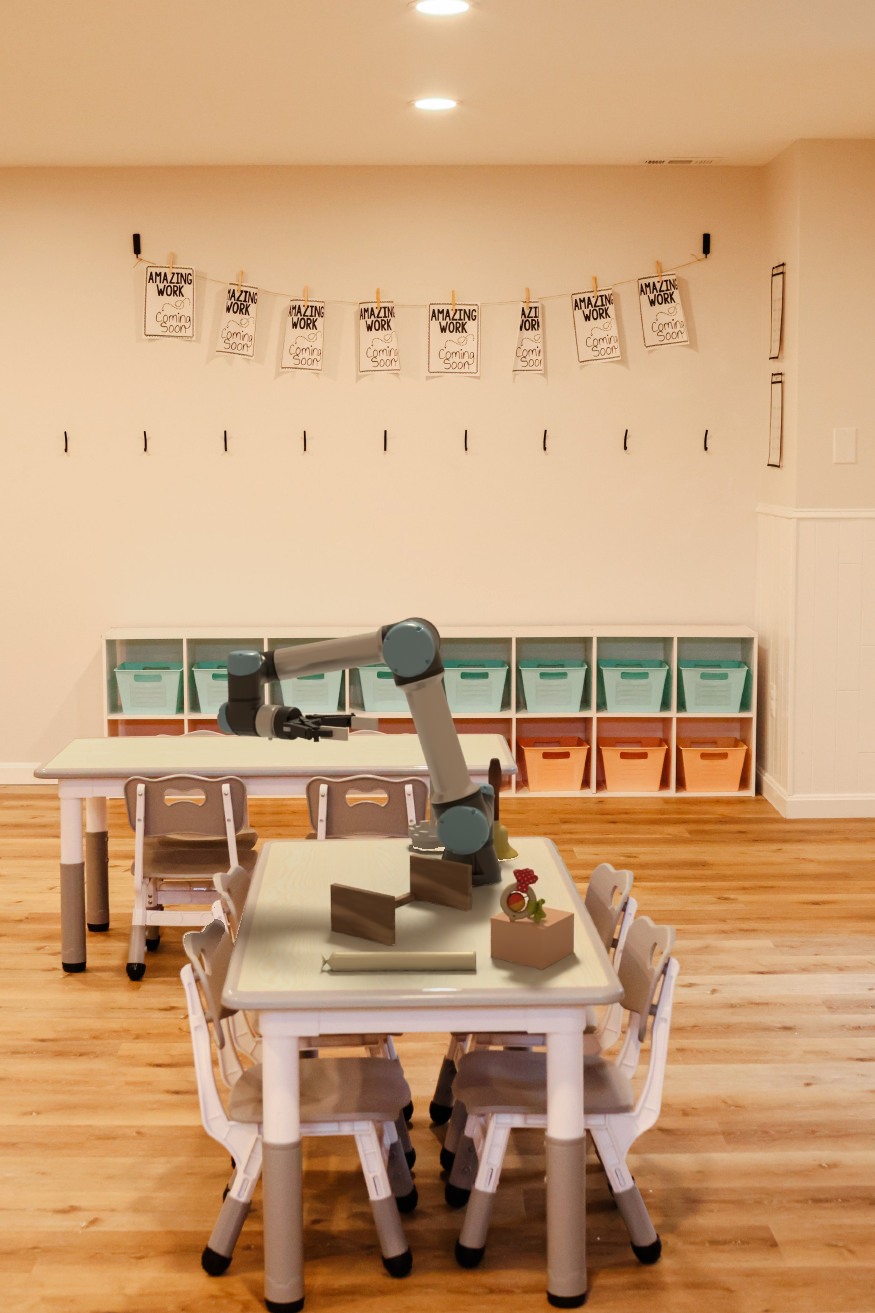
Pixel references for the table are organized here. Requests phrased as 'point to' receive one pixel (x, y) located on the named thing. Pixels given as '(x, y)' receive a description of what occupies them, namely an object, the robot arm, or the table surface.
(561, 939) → the terracotta stand
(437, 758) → the robot arm
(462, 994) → the table surface
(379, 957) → the tan piece
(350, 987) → the table surface
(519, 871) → the bird rattle
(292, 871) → the table surface
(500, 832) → the handbell
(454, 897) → the walnut slot
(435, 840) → the flag stand
